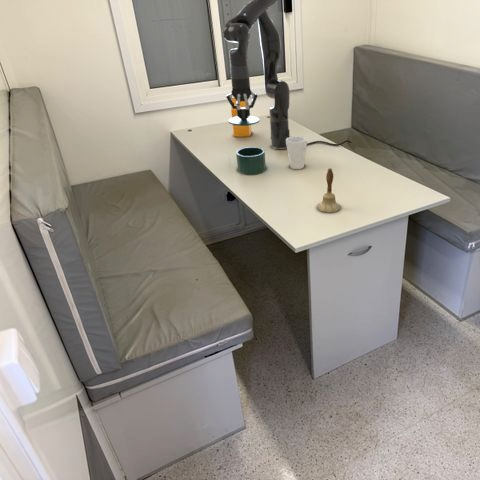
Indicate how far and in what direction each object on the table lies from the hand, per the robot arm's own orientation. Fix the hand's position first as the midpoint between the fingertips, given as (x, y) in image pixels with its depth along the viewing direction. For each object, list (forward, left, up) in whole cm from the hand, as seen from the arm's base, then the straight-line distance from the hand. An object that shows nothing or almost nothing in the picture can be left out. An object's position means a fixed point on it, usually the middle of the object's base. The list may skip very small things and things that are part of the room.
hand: (243, 117), depth 188 cm
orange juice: (0, -50, -23) cm, 56 cm away
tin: (-1, +3, -23) cm, 23 cm away
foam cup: (-22, +4, -23) cm, 33 cm away
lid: (0, 0, -1) cm, 1 cm away
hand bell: (-27, +48, -23) cm, 60 cm away
